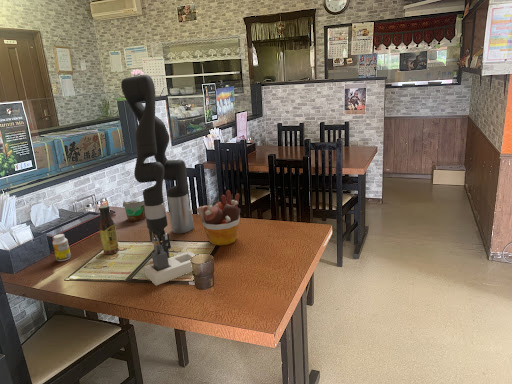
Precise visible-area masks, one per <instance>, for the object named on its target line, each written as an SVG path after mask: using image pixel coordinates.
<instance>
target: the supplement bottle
mask: <svg viewBox="0 0 512 384" xmlns="http://www.w3.org/2000/svg"><path fill="white" fill-rule="evenodd" d="M52 247H53V251H54V256H55V259H56V261H58V262H65V261H67V260H69V259H71V257H72V254H71V249H70V246H69V241H68V238H66V237H65V233H59V234H56V235H54V236H53V241H52Z"/></svg>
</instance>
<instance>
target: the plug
mask: <svg viewBox="0 0 512 384" xmlns="http://www.w3.org/2000/svg"><path fill="white" fill-rule="evenodd" d="M161 242H162V241H161ZM152 244H153V249H154V252H157V247H156V245H159V244H158V241H156V242H153V243H152ZM167 244H168V243H167ZM162 245H163V244H162ZM165 246H166V245H165ZM160 249H161V246H160ZM161 250H162V249H161ZM169 250H170V249H168V252H169V253H170V251H169ZM169 258H170V256H169Z"/></svg>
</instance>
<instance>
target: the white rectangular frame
mask: <svg viewBox="0 0 512 384" xmlns="http://www.w3.org/2000/svg"><path fill="white" fill-rule="evenodd" d="M156 247H157V252H155V251H154V252H151V258H152V263H151V264H148V265H145V266H144V273H145V277H146V278H147V277H148V278H149V279H150V280H151V281H152V282H151V281H150V280H149V279H148V278H147V279H148V280H149V281H150V282H151V283H152V284H154V286H156V287H157V286H158V285H161V284H165V283H167V282H169V280H170V281H173V280H175V279H177V277H178V278H180V277H182V275H183V276H185V275H184V274H186V273H188V274H190V273H189V272H191V273H193V272H192V267H191V262H190V259H191V258H192V257H193V256H195V255H196V254H195V253H193V252H192V251H191V250H188V251H185V252H182V253H179V254H177V255H174V256H172V257H170V256H169V257H170V258H168V256H167V253H166V252H165V251H163V250H161V249H160V245H156ZM186 275H187V274H186ZM179 276H180V277H179ZM174 278H175V279H174ZM172 279H173V280H172Z"/></svg>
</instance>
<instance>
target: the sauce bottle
mask: <svg viewBox="0 0 512 384" xmlns="http://www.w3.org/2000/svg"><path fill="white" fill-rule="evenodd" d="M98 212H99V214H100V216H99V217H100V220H99V222H98V228H99V235H100V240H101V246H102V247H101V248H102V251H103V254H104V255H112V254H115V253H118V251H119V242H118V240H119V239H118V235H117V229H116V224H115V222H114V220H113V218H112V216H111V213H110V206H109V205H108V204H107V205H106V204H105V205H101V206H99V207H98Z"/></svg>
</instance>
